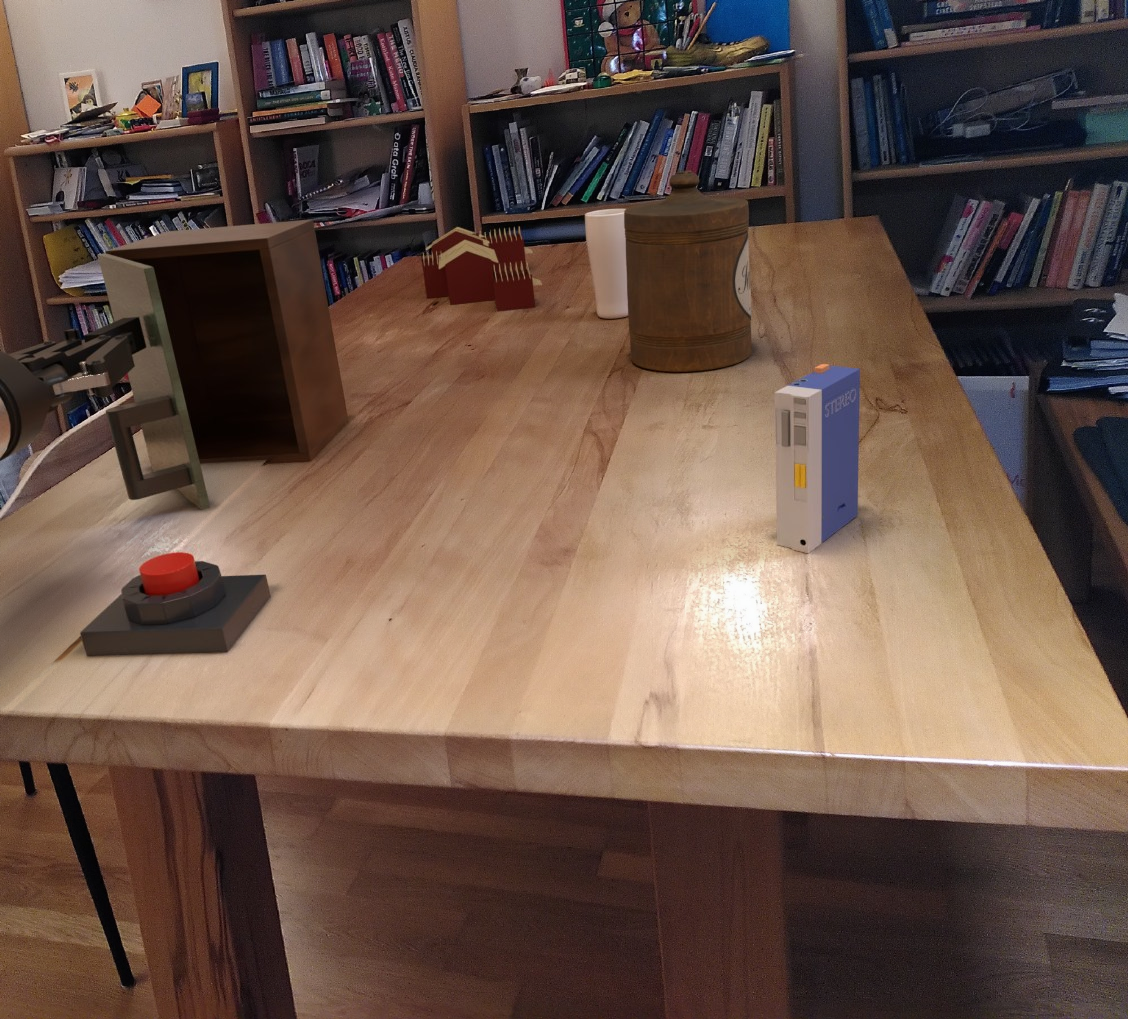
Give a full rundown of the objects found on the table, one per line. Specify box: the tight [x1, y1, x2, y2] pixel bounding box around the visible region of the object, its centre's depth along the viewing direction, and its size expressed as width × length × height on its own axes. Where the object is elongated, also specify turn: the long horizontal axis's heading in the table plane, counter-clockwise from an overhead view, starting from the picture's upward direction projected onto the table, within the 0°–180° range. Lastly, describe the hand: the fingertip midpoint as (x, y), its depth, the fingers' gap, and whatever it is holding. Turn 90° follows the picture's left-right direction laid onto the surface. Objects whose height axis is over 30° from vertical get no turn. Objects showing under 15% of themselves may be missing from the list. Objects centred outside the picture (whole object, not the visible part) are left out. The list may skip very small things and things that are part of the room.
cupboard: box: [104, 219, 350, 465], centre depth 107 cm, size 13×16×22 cm
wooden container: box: [624, 170, 752, 373], centre depth 125 cm, size 15×15×22 cm
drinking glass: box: [584, 208, 628, 320], centre depth 152 cm, size 7×7×15 cm
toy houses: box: [420, 226, 544, 312], centre depth 184 cm, size 45×20×10 cm, turn 6°
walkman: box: [774, 363, 861, 554], centre depth 76 cm, size 8×3×12 cm, turn 139°
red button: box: [138, 551, 199, 596], centre depth 72 cm, size 4×4×2 cm
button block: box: [79, 560, 272, 657], centre depth 72 cm, size 10×8×4 cm
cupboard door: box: [97, 252, 211, 511], centre depth 94 cm, size 6×16×22 cm, turn 36°
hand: (134, 332), depth 91 cm, fingers closed
